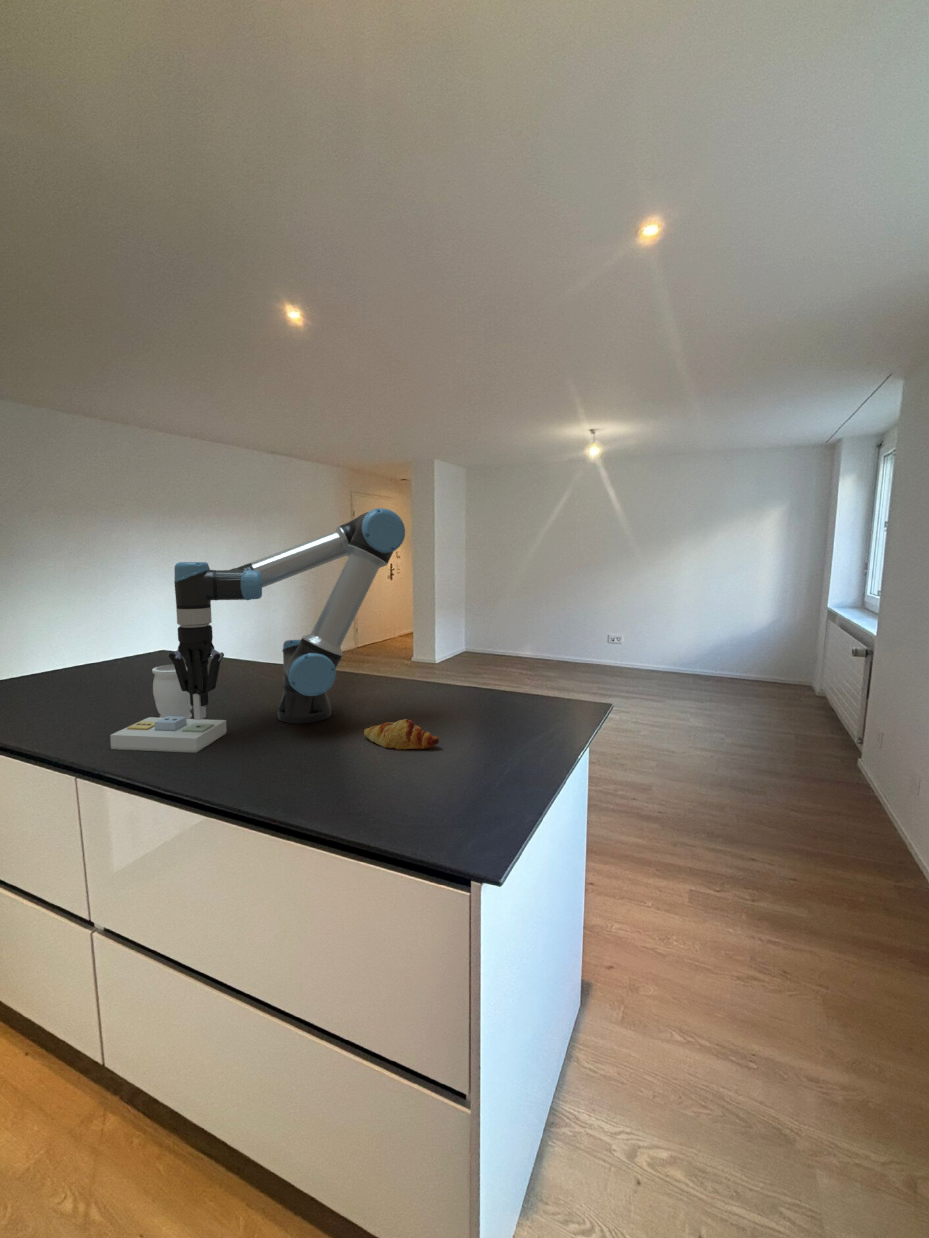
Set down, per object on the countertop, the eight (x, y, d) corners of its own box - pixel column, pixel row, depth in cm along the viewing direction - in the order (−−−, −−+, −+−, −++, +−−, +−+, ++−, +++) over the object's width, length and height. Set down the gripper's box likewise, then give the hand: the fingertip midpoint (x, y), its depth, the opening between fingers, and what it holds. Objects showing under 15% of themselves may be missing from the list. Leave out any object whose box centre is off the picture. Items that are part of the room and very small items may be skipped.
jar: (183, 725, 141) (181, 671, 139) (145, 724, 141) (143, 670, 140) (203, 713, 152) (201, 664, 150) (168, 712, 152) (166, 663, 150)
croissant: (358, 754, 132) (350, 732, 128) (375, 726, 140) (367, 705, 136) (435, 765, 126) (429, 742, 121) (447, 735, 134) (442, 712, 129)
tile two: (186, 728, 131) (186, 716, 131) (174, 734, 126) (174, 722, 126) (167, 727, 131) (167, 715, 131) (155, 734, 127) (154, 721, 126)
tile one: (213, 735, 131) (213, 723, 131) (202, 742, 126) (202, 729, 126) (194, 734, 131) (194, 722, 131) (183, 741, 126) (182, 729, 126)
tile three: (160, 733, 132) (159, 721, 131) (147, 739, 127) (147, 727, 126) (141, 732, 132) (140, 720, 132) (127, 739, 127) (127, 727, 127)
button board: (226, 733, 136) (226, 720, 135) (196, 752, 122) (196, 738, 121) (149, 730, 137) (148, 717, 136) (111, 749, 123) (110, 734, 122)
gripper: (228, 623, 129) (233, 714, 132) (178, 622, 130) (183, 713, 132) (212, 627, 122) (217, 723, 124) (159, 626, 122) (165, 722, 125)
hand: (200, 718), depth 128 cm, fingers closed
